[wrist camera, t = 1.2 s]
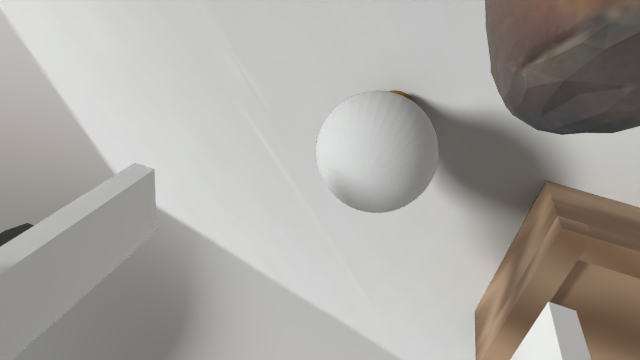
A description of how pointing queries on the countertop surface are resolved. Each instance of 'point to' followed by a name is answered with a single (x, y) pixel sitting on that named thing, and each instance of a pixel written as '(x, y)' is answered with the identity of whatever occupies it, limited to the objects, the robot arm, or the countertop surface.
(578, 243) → the tray
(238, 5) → the countertop surface
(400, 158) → the light bulb
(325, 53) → the countertop surface
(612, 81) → the mortar and pestle
